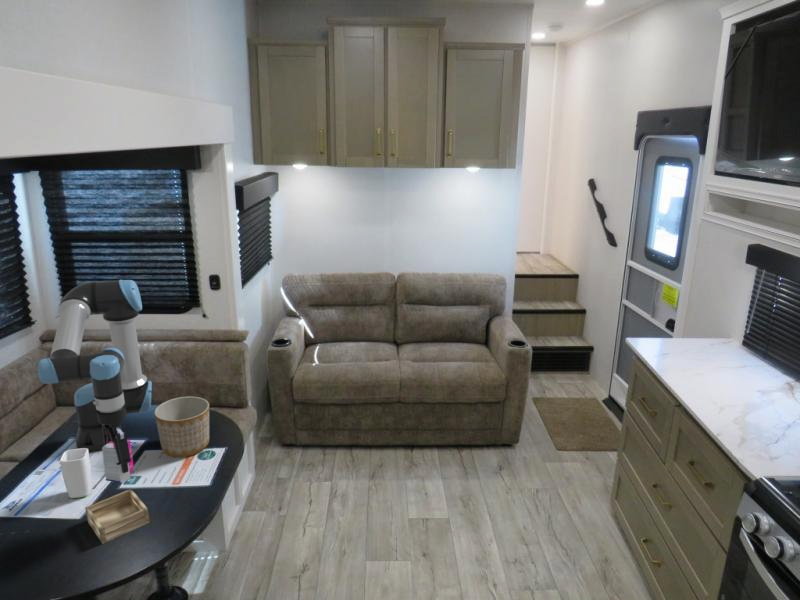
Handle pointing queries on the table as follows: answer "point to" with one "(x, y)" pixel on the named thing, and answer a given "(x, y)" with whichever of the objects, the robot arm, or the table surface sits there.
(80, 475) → the cup
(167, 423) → the planter
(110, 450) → the supplement box
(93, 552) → the table surface
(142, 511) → the crate
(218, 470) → the table surface
